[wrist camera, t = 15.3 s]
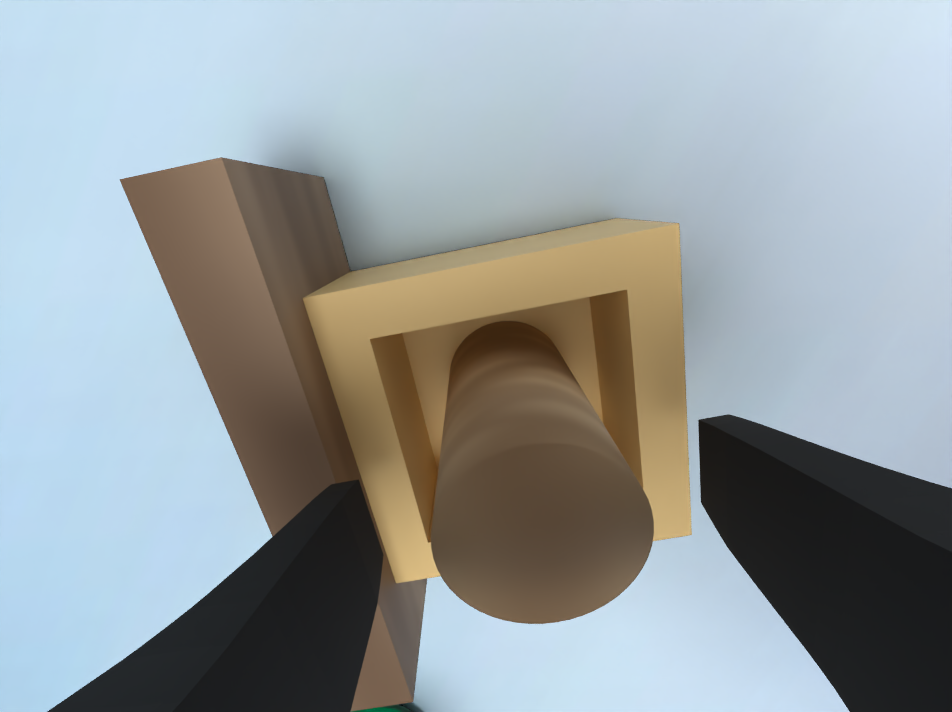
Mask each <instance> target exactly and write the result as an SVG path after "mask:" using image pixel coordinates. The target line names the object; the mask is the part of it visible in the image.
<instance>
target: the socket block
mask: <svg viewBox="0 0 952 712" xmlns="http://www.w3.org/2000/svg"><path fill="white" fill-rule="evenodd" d="M303 301H304V304H305V308H306V311H307V314H308V317H309V320H310V323H311V326H312V329H313V332H314V335H315V338H316V341H317V344H318V347H319V350H320V353H321V356H322V359H323V362H324V365H325V368H326V372H327V375H328V378H329V381H330V384H331V387H332V390H333V393H334V396H335V399H336V402H337V405H338V408H339V411H340V414H341V417H342V420H343V423H344V426H345V429H346V432H347V435H348V439H349V442H350V445H351V448H352V451H353V454H354V457H355V460H356V463H357V466H358V469H359V472H360V475H361V478H362V481H363V484H364V487H365V490H366V493H367V496H368V499H369V503H370V506H371V509H372V512H373V515H374V518H375V521H376V524H377V527H378V530H379V533H380V536H381V539H382V542H383V545H384V548H385V551H386V554H387V557H388V560H389V563H390V566H391V570H392V573H393V576H394V579H395V582H396V583H402V582H408V581H414V580H420V579H426V578H432V577H438V576H441V575H440V573H439V572H438V570H437V567H436V564H435V562H434V559H433V554H432V549H431V529H432V520H433V511H434V503H435V494H436V486H437V477H438V469H439V460H440V452H441V443H442V434H443V426H444V417H445V409H446V400H447V392H448V383H449V375H450V366H451V362H452V359H453V356H454V354H455V352H456V350H457V348H458V347H459V345H460V344H461V343H462V341H463V340H464V339H465V338H466V337H467V336H468V335H470V334H471V333H472V332H474V331H475V330H477V329H479V328H480V327H482V326H485V325H487V324H490V323H494V322H499V321H517V322H522V323H526V324H529V325H531V326H533V327H535V328H537V329H539V330H540V331H542V332H543V333H544V334H546V335H547V336H548V337H549V338H550V339H551V340H552V342H553V343H554V344H555V346H556V347H557V349H558V351H559V352H560V354H561V356H562V357H563V359H564V361H565V362H566V364H567V365H568V367H569V369H570V370H571V372H572V374H573V375H574V377H575V379H576V380H577V382H578V383H579V385H580V387H581V388H582V390H583V392H584V393H585V395H586V397H587V398H588V400H589V401H590V403H591V405H592V406H593V408H594V410H595V411H596V413H597V415H598V416H599V418H600V419H601V421H602V423H603V424H604V426H605V428H606V429H607V431H608V433H609V434H610V436H611V437H612V439H613V441H614V442H615V444H616V446H617V447H618V449H619V450H620V452H621V454H622V455H623V457H624V459H625V460H626V462H627V464H628V465H629V467H630V468H631V470H632V472H633V473H634V475H635V477H636V478H637V480H638V482H639V483H640V485H641V486H642V488H643V490H644V492H645V494H646V496H647V498H648V500H649V503H650V506H651V509H652V513H653V520H654V536H653V541H657V540H663V539H669V538H675V537H681V536H688V535H692V532H691V507H690V482H689V457H688V432H687V407H686V381H685V356H684V331H683V306H682V281H681V256H680V231H679V223H668V222H656V221H644V220H632V219H620V218H615V219H610V220H605V221H600V222H595V223H590V224H585V225H580V226H575V227H570V228H565V229H560V230H555V231H550V232H545V233H540V234H535V235H530V236H525V237H520V238H515V239H510V240H505V241H500V242H496V243H491V244H486V245H481V246H476V247H471V248H466V249H461V250H456V251H451V252H446V253H441V254H436V255H431V256H426V257H421V258H416V259H411V260H406V261H401V262H396V263H391V264H386V265H381V266H376V267H371V268H366V269H361V270H356V271H351V272H349V273H347V274H345V275H344V276H342V277H340V278H338V279H336V280H335V281H333V282H331V283H329V284H327V285H326V286H324V287H322V288H320V289H318V290H317V291H315V292H313V293H311V294H309V295H308V296H306V297H304V298H303Z"/></svg>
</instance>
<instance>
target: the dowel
mask: <svg viewBox="0 0 952 712" xmlns="http://www.w3.org/2000/svg"><path fill="white" fill-rule="evenodd" d="M653 536H654V520H653V513H652V509H651V506H650V503H649V500H648V498H647V496H646V494H645V492H644V490H643V488H642V486H641V485H640V483H639V482H638V480H637V478H636V477H635V475H634V473H633V472H632V470H631V468H630V467H629V465H628V464H627V462H626V460H625V459H624V457H623V455H622V454H621V452H620V450H619V449H618V447H617V446H616V444H615V442H614V441H613V439H612V437H611V436H610V434H609V433H608V431H607V429H606V428H605V426H604V424H603V423H602V421H601V419H600V418H599V416H598V415H597V413H596V411H595V410H594V408H593V406H592V405H591V403H590V401H589V400H588V398H587V397H586V395H585V393H584V392H583V390H582V388H581V387H580V385H579V383H578V382H577V380H576V379H575V377H574V375H573V374H572V372H571V370H570V369H569V367H568V365H567V364H566V362H565V361H564V359H563V357H562V356H561V354H560V352H559V351H558V349H557V347H556V346H555V344H554V343H553V342H552V340H551V339H550V338H549V337H548V336H547V335H546V334H544V333H543V332H542V331H540V330H539V329H537V328H535V327H533V326H531V325H529V324H526V323H522V322H517V321H499V322H494V323H490V324H487V325H485V326H482V327H480V328H479V329H477V330H475V331H474V332H472V333H471V334H470V335H468V336H467V337H466V338H465V339H464V340H463V341H462V343H461V344H460V345H459V347H458V348H457V350H456V352H455V354H454V356H453V359H452V362H451V366H450V375H449V383H448V392H447V400H446V409H445V417H444V426H443V434H442V443H441V452H440V460H439V469H438V477H437V486H436V494H435V503H434V511H433V520H432V529H431V549H432V554H433V559H434V562H435V564H436V567H437V570H438V572H439V573H440V575H441V577H442V579H443V580H444V582H445V583H446V584H447V586H448V587H449V588H450V589H451V590H452V591H453V592H454V593H455V594H456V595H457V596H458V597H459V598H460V599H461V600H463V601H464V602H465V603H467V604H468V605H470V606H471V607H473V608H475V609H477V610H478V611H480V612H483V613H485V614H487V615H490V616H492V617H495V618H499V619H502V620H506V621H511V622H517V623H528V624H544V623H553V622H560V621H565V620H570V619H573V618H576V617H579V616H583V615H585V614H587V613H590V612H592V611H594V610H596V609H598V608H600V607H602V606H604V605H606V604H607V603H609V602H610V601H612V600H613V599H614V598H616V597H617V596H618V595H620V594H621V593H622V592H623V591H624V590H625V589H626V588H627V587H628V586H629V585H630V584H631V583H632V582H633V581H634V580H635V578H636V577H637V576H638V574H639V573H640V571H641V570H642V568H643V566H644V564H645V562H646V560H647V558H648V556H649V553H650V550H651V547H652V542H653Z"/></svg>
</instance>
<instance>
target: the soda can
mask: <svg viewBox="0 0 952 712" xmlns="http://www.w3.org/2000/svg"><path fill="white" fill-rule="evenodd" d="M351 712H412V711H410V710H409V709H408V708H406V707H404V706H402V705H399V704H397V705H390V706H383V707H377V708H370V709H363V710H357V711H351Z"/></svg>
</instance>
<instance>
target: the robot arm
mask: <svg viewBox="0 0 952 712" xmlns="http://www.w3.org/2000/svg"><path fill="white" fill-rule="evenodd" d="M698 422H699V454H700V485H701V503H702V505H703V507H704V508H705V510H706V512H707V514H708V515H709V517H710V519H711V521H712V522H713V524H714V526H715V528H716V529H717V531H718V532H719V534H720V536H721V537H722V539H723V541H724V542H725V544H726V546H727V547H728V548H729V550H730V551H731V553H732V554H733V555H734V557H735V558H736V559H737V561H738V562H739V563H740V564H741V566H742V567H743V568H744V570H745V571H746V572H747V574H748V575H749V576H750V578H751V579H752V580H753V582H754V583H755V584H756V585H757V587H758V588H759V589H760V591H761V592H762V593H763V595H764V596H765V597H766V598H767V600H768V601H769V602H770V604H771V605H772V606H773V607H774V609H775V610H776V611H777V613H778V614H779V615H780V616H781V618H782V619H783V620H784V622H785V623H786V624H787V626H788V627H789V628H790V629H791V631H792V632H793V633H794V635H795V636H796V637H797V638H798V640H799V641H800V642H801V644H802V645H803V646H804V648H805V649H806V650H807V651H808V653H809V654H810V655H811V657H812V658H813V659H814V661H815V662H816V663H817V665H818V666H819V667H820V669H821V670H822V672H823V673H824V674H825V676H826V677H827V679H828V680H829V681H830V683H831V684H832V686H833V687H834V688H835V690H836V691H837V693H838V694H839V696H840V697H841V699H842V701H843V702H844V704H845V705H846V707H847V708H848V710H849V711H850V712H952V488H948V487H945V486H941V485H938V484H935V483H931V482H928V481H925V480H922V479H918V478H915V477H912V476H909V475H906V474H903V473H899V472H896V471H893V470H890V469H887V468H883V467H880V466H877V465H874V464H871V463H868V462H865V461H862V460H860V459H857V458H854V457H851V456H848V455H845V454H842V453H839V452H836V451H834V450H831V449H828V448H825V447H822V446H819V445H817V444H814V443H811V442H808V441H806V440H803V439H800V438H797V437H795V436H792V435H789V434H786V433H783V432H781V431H778V430H775V429H772V428H770V427H767V426H764V425H761V424H758V423H755V422H752V421H749V420H746V419H743V418H740V417H736V416H732V415H723V416H717V417H712V418H706V419H700V420H698ZM383 556H384V555H383V552H382V549H381V545H380V542H379V539H378V536H377V533H376V530H375V527H374V524H373V521H372V518H371V515H370V512H369V509H368V506H367V503H366V500H365V497H364V494H363V491H362V488H361V485H360V482H359V479H358V480H352V481H347V482H341V483H335V484H331V485H330V486H328V487H327V488H326V489H325V490H323V491H322V492H321V493H320V494H319V495H318V496H316V497H315V498H314V499H313V500H312V501H311V502H310V503H309V504H308V505H306V506H305V507H304V508H303V509H302V510H301V511H300V512H299V513H298V514H297V515H296V516H295V517H294V518H292V519H291V520H290V521H289V522H288V523H287V524H286V525H285V526H284V527H283V528H282V529H281V530H280V531H278V532H277V533H276V534H275V535H274V536H273V537H272V538H271V539H270V540H269V541H268V542H267V543H265V544H264V545H263V546H262V547H261V548H260V549H259V550H258V551H257V552H256V553H255V554H254V555H252V556H251V557H250V558H249V559H248V560H247V561H245V562H244V563H243V564H242V565H241V566H240V567H239V568H237V569H236V570H235V571H234V572H233V573H232V574H230V575H229V576H228V577H227V578H226V579H225V580H224V581H222V582H221V583H220V584H219V585H218V586H217V587H215V588H214V589H213V590H212V591H211V592H210V593H209V594H207V595H206V596H205V597H204V598H203V599H201V600H200V601H199V602H198V603H197V604H195V605H194V606H193V607H192V608H190V609H189V610H188V611H187V612H185V613H184V614H183V615H182V616H180V617H179V618H178V619H177V620H175V621H174V622H173V623H171V624H170V625H169V626H167V627H166V628H165V629H163V630H162V631H161V632H160V633H158V634H157V635H156V636H154V637H153V638H152V639H150V640H149V641H148V642H146V643H145V644H144V645H142V646H141V647H140V648H138V649H137V650H136V651H134V652H133V653H132V654H130V655H129V656H127V657H126V658H125V659H123V660H122V661H120V662H119V663H118V664H116V665H115V666H113V667H112V668H110V669H109V670H107V671H106V672H104V673H103V674H102V675H100V676H99V677H97V678H96V679H94V680H93V681H91V682H90V683H88V684H87V685H86V686H84V687H83V688H81V689H80V690H78V691H77V692H75V693H74V694H72V695H71V696H70V697H68V698H67V699H65V700H64V701H62V702H61V703H59V704H58V705H56V706H55V707H54V708H52V709H51V710H49V711H48V712H351V708H352V704H353V700H354V696H355V692H356V688H357V684H358V680H359V676H360V672H361V668H362V664H363V660H364V657H365V653H366V649H367V645H368V641H369V637H370V633H371V629H372V624H373V620H374V616H375V612H376V608H377V604H378V597H379V590H380V582H381V574H382V565H383Z"/></svg>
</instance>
